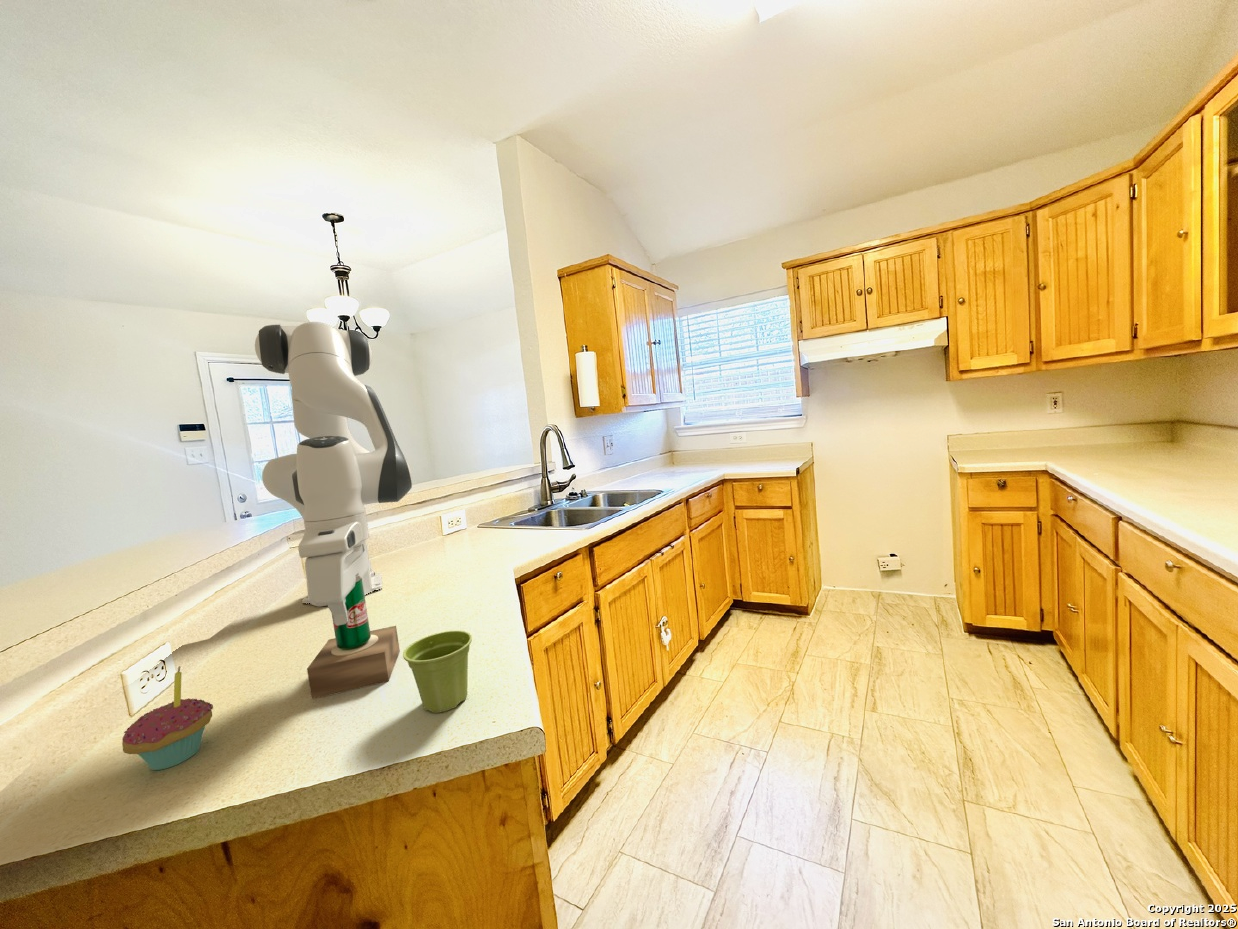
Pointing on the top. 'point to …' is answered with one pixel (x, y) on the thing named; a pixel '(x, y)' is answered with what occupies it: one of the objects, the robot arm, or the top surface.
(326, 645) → the plinth
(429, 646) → the plant pot
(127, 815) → the top surface
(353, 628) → the soda can
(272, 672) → the top surface
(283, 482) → the robot arm
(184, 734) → the cupcake
